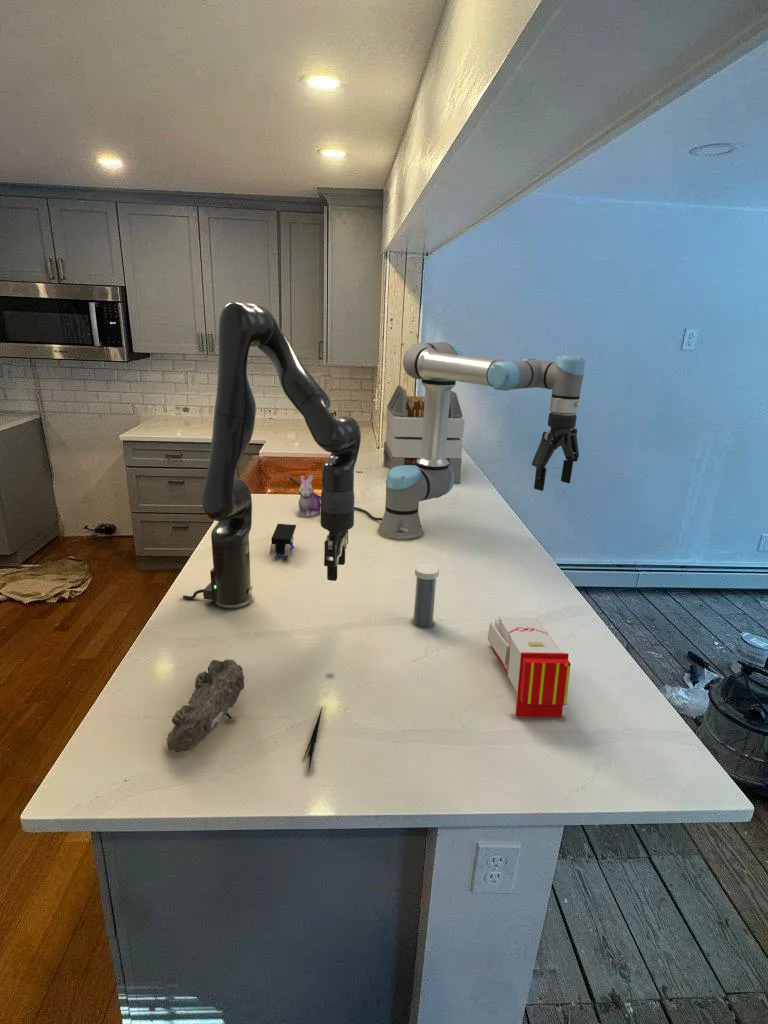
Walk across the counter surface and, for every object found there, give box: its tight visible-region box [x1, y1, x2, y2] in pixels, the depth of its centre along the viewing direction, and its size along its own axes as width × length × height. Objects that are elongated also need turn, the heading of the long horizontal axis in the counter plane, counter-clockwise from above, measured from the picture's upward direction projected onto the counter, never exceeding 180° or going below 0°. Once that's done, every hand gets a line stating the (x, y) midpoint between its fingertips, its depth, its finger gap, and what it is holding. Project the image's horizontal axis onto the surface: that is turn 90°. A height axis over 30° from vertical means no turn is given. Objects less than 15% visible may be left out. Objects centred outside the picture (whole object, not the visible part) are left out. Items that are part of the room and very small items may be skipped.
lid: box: [414, 563, 440, 580], centre depth 139 cm, size 6×6×2 cm
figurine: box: [298, 474, 321, 518], centre depth 213 cm, size 9×10×15 cm
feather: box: [301, 673, 332, 771], centre depth 108 cm, size 2×28×2 cm
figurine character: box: [269, 523, 297, 560], centre depth 179 cm, size 7×8×15 cm
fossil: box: [166, 658, 245, 754], centre depth 106 cm, size 22×10×15 cm
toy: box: [487, 616, 572, 718], centre depth 123 cm, size 12×13×30 cm
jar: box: [412, 575, 437, 628], centre depth 142 cm, size 5×5×15 cm
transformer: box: [383, 384, 465, 484], centre depth 268 cm, size 34×33×41 cm
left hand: (336, 571), depth 132 cm, fingers open, 8 cm apart
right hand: (552, 485), depth 166 cm, fingers open, 13 cm apart
